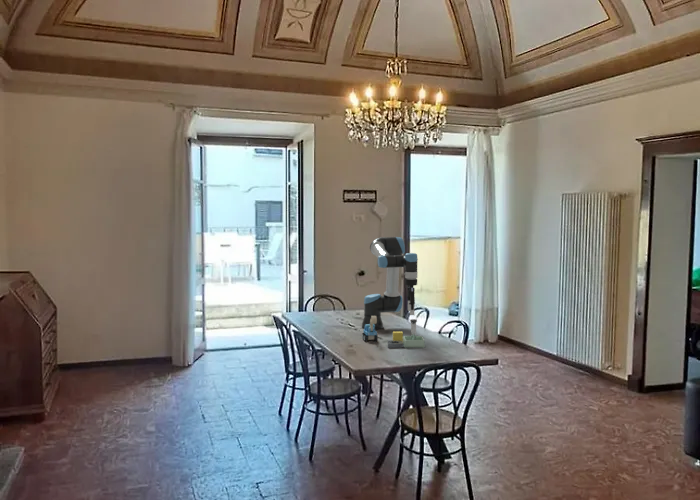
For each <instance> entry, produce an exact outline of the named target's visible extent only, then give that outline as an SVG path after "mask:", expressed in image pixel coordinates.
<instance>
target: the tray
mask: <svg viewBox="0 0 700 500" xmlns="http://www.w3.org/2000/svg"><path fill="white" fill-rule="evenodd" d="M403 348H405V349H410V348H411V349H413V348H414V349H419V348H421V349H422V348H423V349H425V348H426V347H425V339H424V337H423V335H416V340H411V335H403Z"/></svg>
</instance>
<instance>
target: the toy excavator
mask: <svg viewBox="0 0 700 500" xmlns="http://www.w3.org/2000/svg"><path fill="white" fill-rule="evenodd" d="M376 323H377V317H376V316H371V319H370V324H366V325H365V328H364V329H363V332H362V333H361V339H362V340H363V341H364V342H368V341H374V342H375V341H378V340H379V339H378V338H379V337H378V332H377V331H376V329H374V328H375V325H374V324H376Z"/></svg>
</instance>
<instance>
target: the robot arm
mask: <svg viewBox="0 0 700 500" xmlns="http://www.w3.org/2000/svg"><path fill="white" fill-rule="evenodd" d="M369 245H370V246H369V251H370V253H371V254H372V255H373V256H375V257H376V258H377V266H378V268H380V269H381V268H382V269H386V278H385V279H386V281H385V287H386V288H385V291H384V292H383V295H381V294H380V293H373V294H368V295H365V296H364V298H363V311H364V312H363V313H364V314H363V315H364V316H363V319H362V323H361V328H362V329H363V330H364V328H365V325H366V324H370V319H371V316H376V317H377V323H376V324H374V325H375V328H374V329H375V330H381V329H384V322H383V320H382V317H381V315H382V314H381V313H399V312H400V311H401V310H402V308H403V303H404V302H403V296H402V295H401V293H400V291H399V282H400V280H399V278H400V268H404V273H403V275H404V278H405V279H404V285H405V286H407V311H408V312H409V316H415V304H416V302H415V299H416V298H415V289H416V288H415V287H414V286H418V260H419V259H418V254H417V253H415V252H414V253H413V252H411V253H410V252H408V253H406V248H405V247H406V246H405V245H406V244H405V241H404V239H403V237H399V236H388V237H387V236H385V237H377V238H375V239H374V240H373V241H371V243H370V244H369Z"/></svg>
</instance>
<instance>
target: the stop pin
mask: <svg viewBox="0 0 700 500" xmlns="http://www.w3.org/2000/svg"><path fill="white" fill-rule="evenodd" d="M409 320H410V336H411V340H416V336H417V322H418V321H417V319H415V318H412V319H409Z"/></svg>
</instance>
